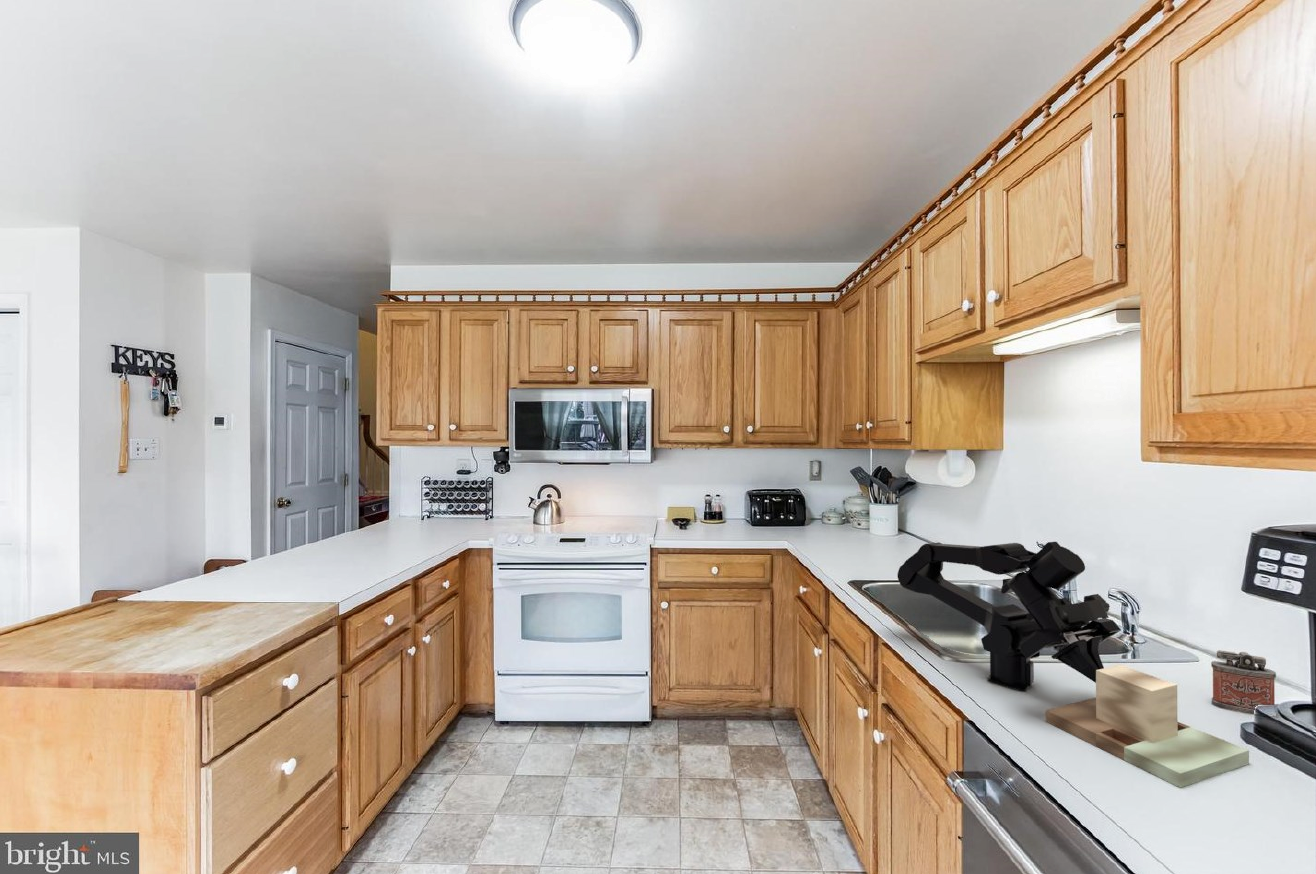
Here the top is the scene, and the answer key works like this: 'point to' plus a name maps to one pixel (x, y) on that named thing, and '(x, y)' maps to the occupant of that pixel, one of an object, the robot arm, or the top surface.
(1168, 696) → the maple block
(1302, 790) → the top surface
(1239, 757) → the board
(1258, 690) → the lighter
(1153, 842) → the top surface
